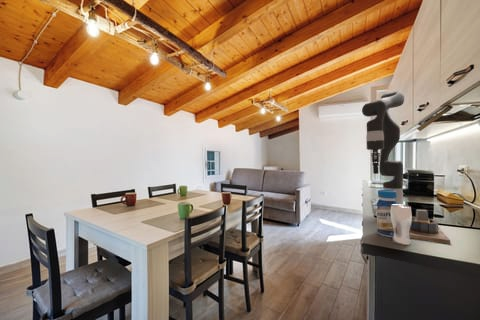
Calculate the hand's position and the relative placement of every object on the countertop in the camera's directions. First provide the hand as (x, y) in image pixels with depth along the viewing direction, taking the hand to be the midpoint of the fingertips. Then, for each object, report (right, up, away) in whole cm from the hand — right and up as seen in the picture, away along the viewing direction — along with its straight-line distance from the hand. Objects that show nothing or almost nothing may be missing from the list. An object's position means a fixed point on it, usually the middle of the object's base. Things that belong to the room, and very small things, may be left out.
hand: (375, 173), depth 103 cm
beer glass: (-4, -27, -21) cm, 34 cm away
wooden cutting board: (+13, -27, -11) cm, 32 cm away
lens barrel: (+13, -25, -11) cm, 31 cm away
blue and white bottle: (-3, -27, -12) cm, 30 cm away
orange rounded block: (+13, -25, -12) cm, 31 cm away
